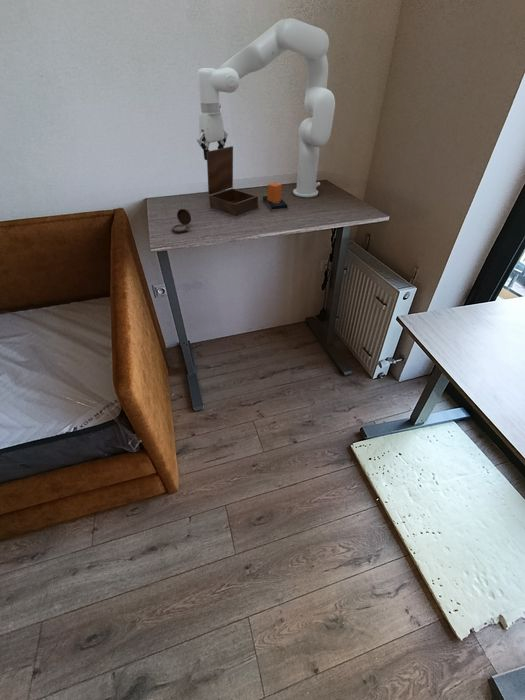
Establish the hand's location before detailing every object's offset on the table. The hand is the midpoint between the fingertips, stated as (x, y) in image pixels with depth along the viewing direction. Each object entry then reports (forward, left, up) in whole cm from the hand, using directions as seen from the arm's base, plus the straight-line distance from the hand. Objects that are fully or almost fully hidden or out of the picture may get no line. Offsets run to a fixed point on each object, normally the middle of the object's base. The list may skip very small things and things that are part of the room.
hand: (214, 158), depth 145 cm
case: (0, +11, -19) cm, 22 cm away
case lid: (0, +4, -4) cm, 6 cm away
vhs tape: (-17, +21, -19) cm, 33 cm away
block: (-16, +21, -17) cm, 32 cm away
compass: (+30, +13, -19) cm, 38 cm away
